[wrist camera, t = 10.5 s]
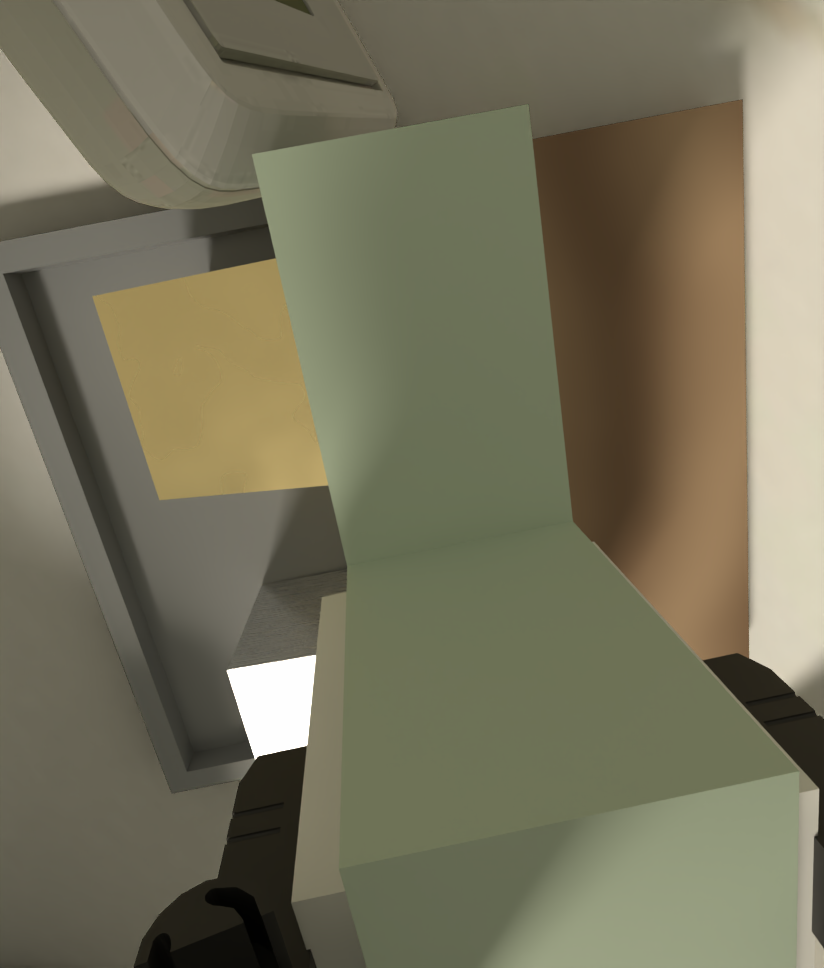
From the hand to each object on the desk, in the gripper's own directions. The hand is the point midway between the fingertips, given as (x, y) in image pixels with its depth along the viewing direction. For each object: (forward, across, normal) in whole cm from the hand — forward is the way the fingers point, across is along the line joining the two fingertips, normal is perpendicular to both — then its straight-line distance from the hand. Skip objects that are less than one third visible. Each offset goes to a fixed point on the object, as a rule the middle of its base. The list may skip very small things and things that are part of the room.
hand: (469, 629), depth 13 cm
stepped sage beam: (+3, 0, 0) cm, 3 cm away
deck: (+9, -6, 0) cm, 11 cm away
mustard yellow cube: (+8, +3, -5) cm, 10 cm away
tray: (+9, +5, 0) cm, 11 cm away
